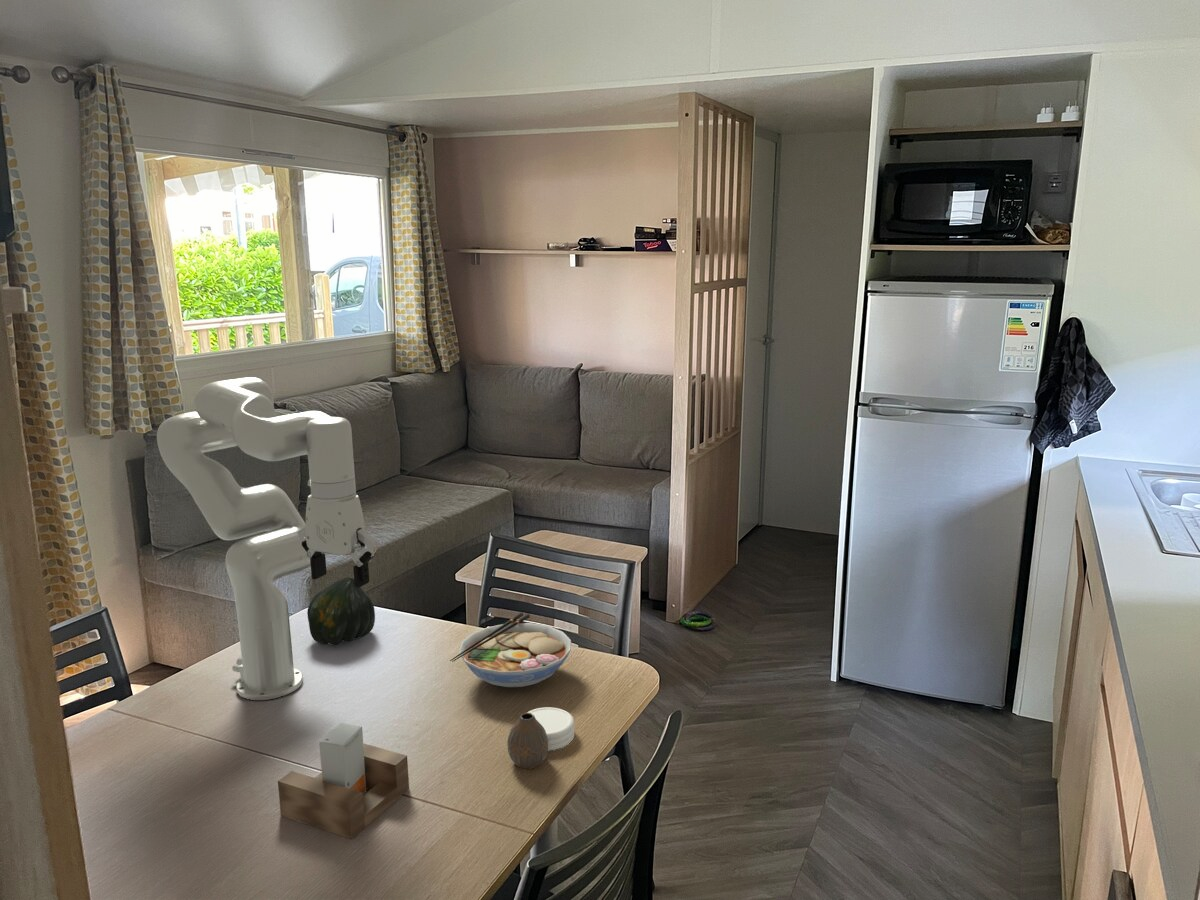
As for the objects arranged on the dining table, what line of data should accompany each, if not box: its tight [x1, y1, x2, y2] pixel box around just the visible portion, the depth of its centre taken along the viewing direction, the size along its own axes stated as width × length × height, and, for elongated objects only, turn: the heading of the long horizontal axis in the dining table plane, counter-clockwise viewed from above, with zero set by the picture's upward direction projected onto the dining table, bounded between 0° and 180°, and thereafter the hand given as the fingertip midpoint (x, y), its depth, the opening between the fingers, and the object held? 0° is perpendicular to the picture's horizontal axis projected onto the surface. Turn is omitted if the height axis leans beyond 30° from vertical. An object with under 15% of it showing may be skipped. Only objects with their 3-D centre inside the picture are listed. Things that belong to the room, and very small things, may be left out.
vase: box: [506, 712, 548, 770], centre depth 152 cm, size 7×7×9 cm
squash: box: [306, 576, 376, 646], centre depth 201 cm, size 14×15×15 cm
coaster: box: [526, 706, 575, 752], centre depth 161 cm, size 10×10×4 cm
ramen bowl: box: [449, 612, 572, 688], centre depth 181 cm, size 25×23×8 cm
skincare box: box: [319, 722, 367, 796], centre depth 141 cm, size 6×4×12 cm
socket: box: [277, 742, 410, 840], centre depth 142 cm, size 14×14×6 cm
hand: (340, 580), depth 159 cm, fingers open, 9 cm apart
